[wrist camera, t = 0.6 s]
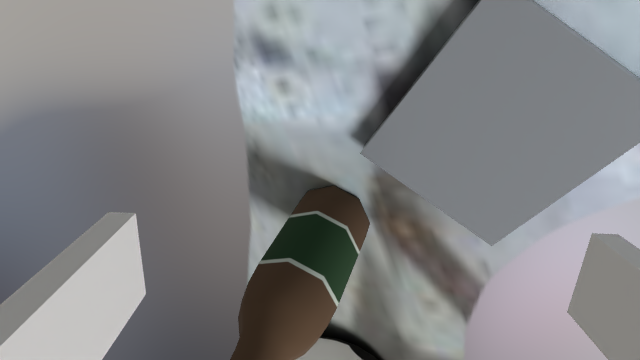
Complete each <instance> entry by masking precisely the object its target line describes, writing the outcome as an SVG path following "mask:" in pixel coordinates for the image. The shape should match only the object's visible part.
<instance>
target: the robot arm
mask: <svg viewBox="0 0 640 360" xmlns="http://www.w3.org/2000/svg"><path fill="white" fill-rule="evenodd" d="M145 294H146V291H145V284H144V275H143V268H142V260H141V252H140V244H139V236H138V228H137V220H136V214H135V213H115V212H108V213H107V214H106V215H105V216H104V217H102V218H101V219H100V220H99V221H98V222H97V223H95V224H94V225H93V226H92V227H91V228H90V229H88V230H87V231H86V232H85V233H84V234H83V235H81V236H80V237H79V238H78V239H77V240H75V241H74V242H73V243H72V244H71V245H70V246H68V247H67V248H66V249H65V250H64V251H63V252H62V253H60V254H59V255H58V256H57V257H56V258H54V259H53V260H52V261H51V262H50V263H49V264H48V265H46V266H45V267H44V268H43V269H42V270H40V271H39V272H38V273H37V274H36V275H34V276H33V277H32V278H31V279H30V280H29V281H28V282H26V283H25V284H24V285H23V286H22V287H21V288H19V289H18V290H17V291H16V292H15V293H13V294H12V295H11V296H10V297H9V298H8V299H6V300H5V301H4V302H3V303H2V304H1V305H0V360H102V359H103V357H104V356H105V354H106V353H107V351H108V350H109V348H110V347H111V345H112V344H113V342H114V341H115V339H116V338H117V336H118V335H119V333H120V332H121V330H122V329H123V327H124V326H125V324H126V323H127V321H128V320H129V318H130V317H131V315H132V314H133V312H134V311H135V309H136V308H137V307H138V305H139V304H140V302H141V301H142V299H143V297H144V296H145ZM567 312H568V313H569V315H570V316H571V317H572V318H573V319H574V320H575V322H576V323H577V324H578V325H579V326H580V327H581V328H582V330H583V331H584V332H585V333H586V334H587V335H588V336H589V338H590V339H591V340H592V341H593V342H594V344H595V345H596V346H597V347H598V348H599V349H600V351H601V352H602V353H603V354H604V355H605V356H606V358H607V359H608V360H640V249H638V248H637V247H636V246H634V245H633V244H631V243H630V242H628V241H627V240H625V239H624V238H623V237H621V236H620V235H616V234H594V233H592V235H591V238H590V242H589V245H588V248H587V251H586V254H585V257H584V261H583V264H582V267H581V270H580V273H579V276H578V280H577V283H576V286H575V289H574V292H573V295H572V299H571V302H570V305H569V308H568V311H567Z"/></svg>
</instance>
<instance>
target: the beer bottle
mask: <svg viewBox="0 0 640 360" xmlns="http://www.w3.org/2000/svg"><path fill="white" fill-rule="evenodd" d="M369 225H370V222H369V220H368V217H367V215H366V213H365V211H364V209H363V206H362V204H361V202H360V200H359V198H357V197H355V196H353V195H351V194H349V193H347V192H345V191H343V190H341V189H339V188H338V187H336V186H330V187H324V188H319V189H314V190H309V191H308V192H307V193H306V194H305V195H304V197H303V198H302V199H301V200H300V202H299V203H298V205H297V206H296V208H295V210H294V211H293V213H292V214H291V216H290V217H289V219H288V220H287V222H286V223H285V225H284V226H283V228H282V229H281V231H280V232H279V234H278V235H277V237H276V238H275V240H274V241H273V243H272V244H271V246H270V247H269V249H268V250H267V252H266V253H265V255H264V256H263V258H262V259H261V261H260V262H259V264H258V266H257V268H256V269H255V271H254V273H253V275H252V277H251V279H250V281H249V283H248V285H247V288H246V291H245V294H244V296H243V299H242V303H241V308H240V312H239V316H238V321H239V333H240V338H239V341H238V344H237V346H236V349H235V351H234V353H233V355H232V357H231V359H230V360H296V359H297V358H299V357H301V356H303V355H305V353H306V352H307V351H308V350H309V349H310V348H311V347H312V346H313V345H314V344H315V343H316V342H317V341H318V339H319V338H320V336H321V335H322V333H323V332H324V330H325V329H326V327H327V326H328V324H329V322H330V320H331V318H332V316H333V315H334V313H335V311H336V309H337V307H338V304H339V302H340V299H341V297H342V294H343V292H344V289H345V287H346V284H347V282H348V279H349V277H350V274H351V272H352V269H353V267H354V264H355V262H356V259H357V257H358V254H359V252H360V249H361V247H362V244H363V242H364V240H365V237H366V234H367V231H368V228H369Z"/></svg>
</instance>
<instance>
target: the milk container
mask: <svg viewBox="0 0 640 360" xmlns="http://www.w3.org/2000/svg"><path fill="white" fill-rule="evenodd" d="M296 360H378V359H377V358H376V357H374V356H373V355H371V354H369V353H368V352H366V351H364V350H363V349H361V348H360V347H358V346H356V345H353V344H350V343H347V342H345V341H343V340H340V339H336V338H328V337H323V336H320V338H319V339H318V341H317V342H316V343H315V344H314V345H313V346H312V347H311V348H310V349H309V350H308V351H307V352H306V353H305V355H303V356H301V357H299V358H297V359H296Z"/></svg>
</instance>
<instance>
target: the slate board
mask: <svg viewBox="0 0 640 360" xmlns="http://www.w3.org/2000/svg"><path fill="white" fill-rule="evenodd" d="M638 143H640V78H638V77H637V76H636V75H634V74H633V73H632V72H630V71H629V70H627V69H626V68H625V67H623V66H622V65H621V64H619V63H618V62H617V61H615V60H614V59H612V58H611V57H610V56H608V55H607V54H606V53H604V52H603V51H602V50H600V49H599V48H597V47H596V46H595V45H593V44H592V43H591V42H589V41H588V40H586V39H585V38H584V37H582V36H581V35H580V34H578V33H577V32H576V31H574V30H573V29H571V28H570V27H569V26H567V25H566V24H565V23H563V22H562V21H560V20H559V19H558V18H556V17H555V16H554V15H552V14H551V13H550V12H548V11H547V10H545V9H544V8H543V7H541V6H540V5H539V4H537V3H536V2H534V1H533V0H478V1H477V3H476V4H475V5H474V7H473V8H472V9H471V10H470V12H469V13H468V14H467V16H466V17H465V18H464V19H463V21H462V22H461V23H460V24H459V26H458V27H457V28H456V30H455V31H454V32H453V33H452V35H451V36H450V37H449V38H448V40H447V41H446V42H445V44H444V45H443V46H442V47H441V49H440V50H439V51H438V52H437V54H436V55H435V56H434V58H433V59H432V60H431V61H430V63H429V64H428V65H427V66H426V68H425V69H424V70H423V72H422V73H421V74H420V75H419V77H418V78H417V79H416V80H415V82H414V83H413V84H412V86H411V87H410V88H409V89H408V91H407V92H406V93H405V94H404V96H403V97H402V98H401V100H400V101H399V102H398V103H397V105H396V106H395V107H394V108H393V110H392V111H391V112H390V114H389V115H388V116H387V117H386V119H385V120H384V121H383V123H382V124H381V125H380V126H379V128H378V129H377V130H376V131H375V133H374V134H373V135H372V137H371V138H370V139H369V140H368V142H367V143H366V144H365V146H364V148H363V149H362V151H361V153H360V154H362V155H363V156H364V157H366V158H367V159H369V160H370V161H371V162H373V163H374V164H376V165H377V166H379V167H380V168H381V169H383V170H384V171H386V172H387V173H389V174H390V175H391V176H393V177H394V178H396V179H397V180H399V181H400V182H401V183H403V184H404V185H406V186H407V187H408V188H410V189H411V190H413V191H414V192H416V193H417V194H418V195H420V196H421V197H423V198H424V199H426V200H427V201H428V202H430V203H431V204H433V205H434V206H436V207H437V208H438V209H440V210H441V211H443V212H444V213H445V214H447V215H448V216H450V217H451V218H453V219H454V220H455V221H457V222H458V223H460V224H461V225H463V226H464V227H465V228H467V229H468V230H470V231H471V232H472V233H474V234H475V235H477V236H478V237H480V238H481V239H482V240H484V241H485V242H487V243H488V244H490V245H491V246H492V245H494V244H495V243H497V242H498V241H500V240H501V239H502V238H504V237H505V236H507V235H508V234H510V233H511V232H512V231H514V230H515V229H517V228H518V227H520V226H521V225H522V224H524V223H525V222H527V221H528V220H530V219H531V218H533V217H534V216H535V215H537V214H538V213H540V212H541V211H543V210H544V209H545V208H547V207H548V206H550V205H551V204H553V203H554V202H555V201H557V200H558V199H560V198H561V197H563V196H564V195H565V194H567V193H568V192H570V191H571V190H573V189H574V188H575V187H577V186H578V185H580V184H581V183H583V182H584V181H585V180H587V179H588V178H590V177H591V176H593V175H594V174H596V173H597V172H598V171H600V170H601V169H603V168H604V167H606V166H607V165H608V164H610V163H611V162H613V161H614V160H616V159H617V158H618V157H620V156H621V155H623V154H624V153H626V152H627V151H628V150H630V149H631V148H633V147H634V146H636V145H637V144H638Z"/></svg>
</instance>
